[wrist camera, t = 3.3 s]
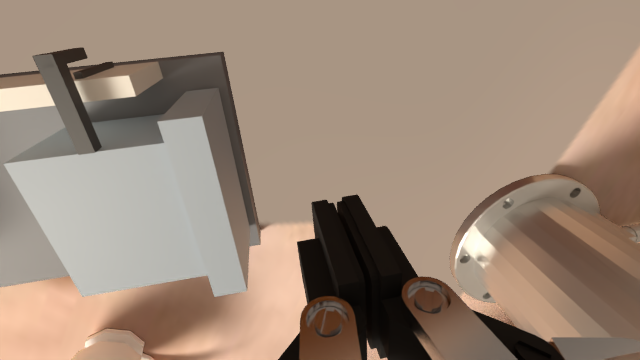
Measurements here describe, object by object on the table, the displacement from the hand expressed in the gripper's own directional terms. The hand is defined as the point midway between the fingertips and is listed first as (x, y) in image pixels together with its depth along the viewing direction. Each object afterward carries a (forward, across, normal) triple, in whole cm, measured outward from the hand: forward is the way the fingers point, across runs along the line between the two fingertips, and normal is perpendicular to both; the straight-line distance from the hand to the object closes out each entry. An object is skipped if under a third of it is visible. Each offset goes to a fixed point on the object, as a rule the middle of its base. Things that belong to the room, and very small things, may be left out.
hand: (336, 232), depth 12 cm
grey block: (+8, +8, -1) cm, 11 cm away
